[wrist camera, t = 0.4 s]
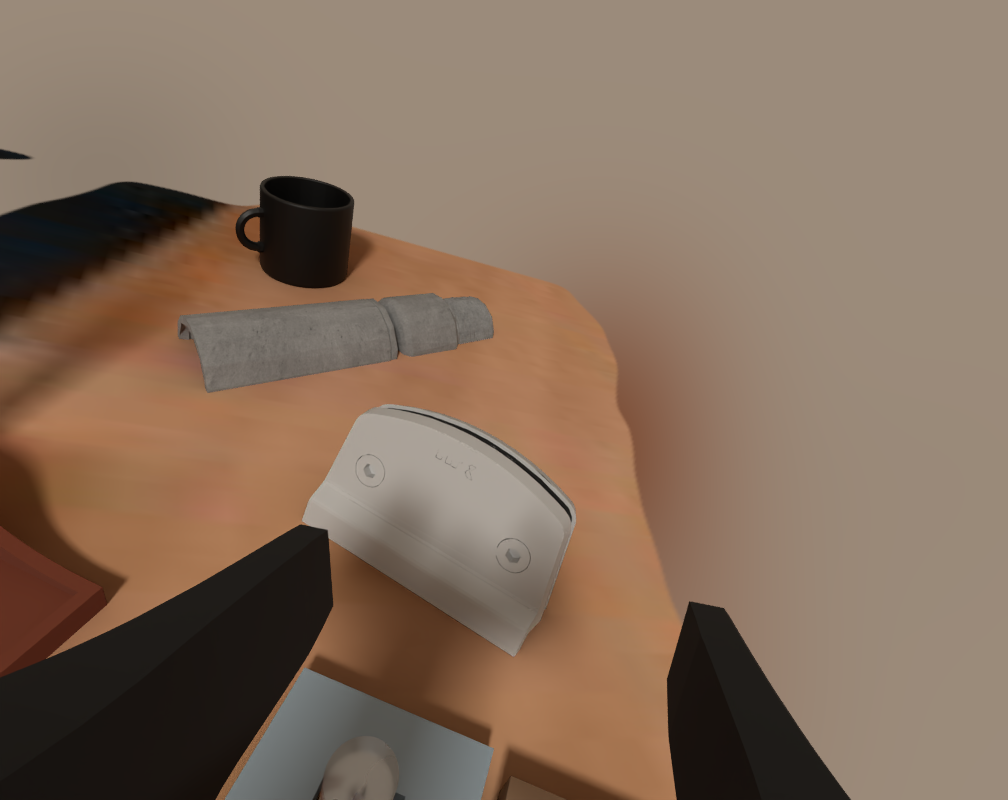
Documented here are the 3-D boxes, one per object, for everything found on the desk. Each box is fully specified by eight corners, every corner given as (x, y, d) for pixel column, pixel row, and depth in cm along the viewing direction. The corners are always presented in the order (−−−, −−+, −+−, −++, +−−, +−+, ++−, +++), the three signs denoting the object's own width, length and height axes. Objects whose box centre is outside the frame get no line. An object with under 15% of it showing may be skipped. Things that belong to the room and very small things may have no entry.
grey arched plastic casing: (296, 517, 35) (344, 381, 32) (340, 495, 39) (385, 373, 37) (519, 661, 31) (594, 519, 28) (540, 618, 35) (606, 492, 33)
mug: (224, 252, 60) (221, 170, 55) (328, 251, 67) (334, 179, 62) (249, 292, 55) (248, 206, 50) (359, 287, 62) (368, 211, 57)
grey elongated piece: (173, 296, 44) (463, 275, 63) (177, 340, 47) (455, 308, 65) (205, 353, 40) (507, 312, 58) (208, 398, 42) (497, 345, 61)
